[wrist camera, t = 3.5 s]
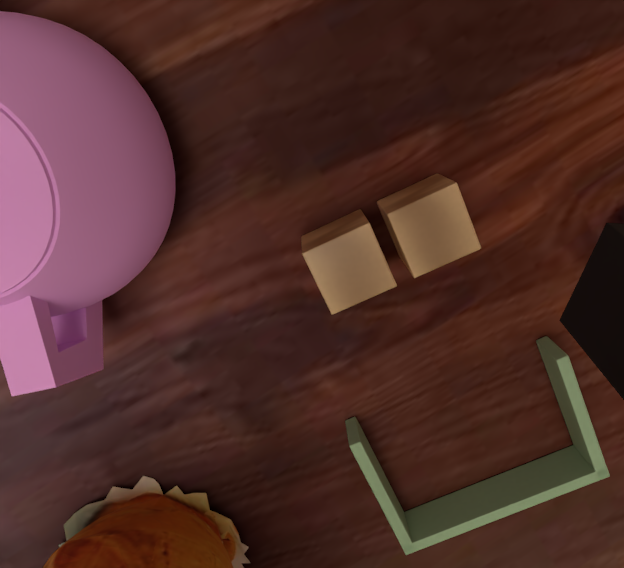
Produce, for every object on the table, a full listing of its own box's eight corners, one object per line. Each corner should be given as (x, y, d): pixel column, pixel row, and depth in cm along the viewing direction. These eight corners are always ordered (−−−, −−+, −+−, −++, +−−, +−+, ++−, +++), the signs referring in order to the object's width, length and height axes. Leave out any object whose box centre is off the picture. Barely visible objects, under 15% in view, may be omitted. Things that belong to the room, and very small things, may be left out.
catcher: (546, 335, 36) (568, 355, 33) (587, 449, 39) (610, 476, 36) (344, 420, 37) (349, 446, 35) (397, 523, 40) (405, 555, 37)
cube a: (437, 172, 32) (457, 182, 28) (460, 232, 33) (482, 248, 30) (375, 201, 33) (386, 214, 29) (400, 259, 34) (414, 278, 30)
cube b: (360, 208, 33) (369, 222, 29) (385, 265, 34) (397, 286, 30) (300, 236, 33) (301, 253, 29) (327, 292, 34) (331, 315, 31)
